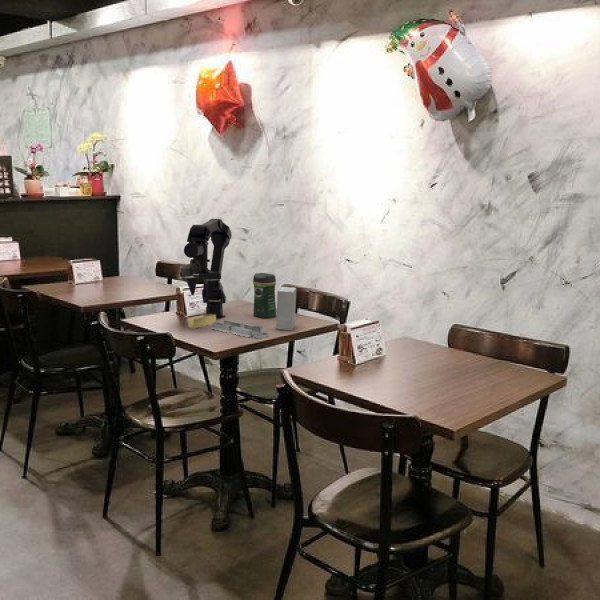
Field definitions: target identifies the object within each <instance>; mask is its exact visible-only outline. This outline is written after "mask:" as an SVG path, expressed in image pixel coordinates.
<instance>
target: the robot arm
mask: <svg viewBox="0 0 600 600" xmlns="http://www.w3.org/2000/svg"><path fill="white" fill-rule="evenodd" d="M231 239H232V230H231V229H230V226H228V225H227V224H226V223H224V222H223V219H221V218H210V219H209V220H207V221H206V222H204V223H201V224H192V225H191V227H190V228H189V232H188V235H187V238H186V242H188V243H187V244H185V246H184V248H183V254H184V255H185V256H186V257H187V258H188V259H190V260H189V262H190V263H188V264H185V265H183V266H182V267H180V268H179V269H180V271H179V277H181V279H182V280H184V281H185V282H186V284H187V287H188V289H189V292H190V295H191V296H195V292H196V288H197V283H198V277H200V278H203V280H202V281H203V288H202V289H201V296H202V301H203V302H202V303H203V304H206V307H205V310H206V311H205V315H206V314H216V319H219V318H224V317H226V315H225V314H223V304H226V301H227V296H226V294H225V292H224V287H223V285H222V284H223V283H221V280H222V271H223V264H224V263H223V261H224V257H225V256H224V255H225V250H226V248H227V247H228V246H229V245H230V242H231ZM210 240H211V243H212V245H213V249H212V255H211V256H212V257H211V259H208V257H209V256H208V253H209V251H208V250H209V249H208V246H209V241H210ZM208 263H211V265H210V269H208V266H209V265H208Z"/></svg>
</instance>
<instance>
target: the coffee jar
mask: <svg viewBox="0 0 600 600" xmlns="http://www.w3.org/2000/svg"><path fill="white" fill-rule="evenodd" d="M252 284H253V292H254V293H253V295H254V296H253V316H254V317H258V318H264V319H265V318H266V319H267V318H269V319H272V318H273V317H275V316H277V303H276V284H277V281H276V275H275V274H273V273H268V272H267V273H266V272H258V273H255V274H253V280H252Z"/></svg>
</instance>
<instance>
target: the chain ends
mask: <svg viewBox="0 0 600 600" xmlns="http://www.w3.org/2000/svg"><path fill="white" fill-rule="evenodd" d="M213 329H214V330H213ZM212 330H213V331H217V330H219V331H218V332H221V331H223V333H226V332H227V333H226V334H230V333H229V332H231V334H232V335H235V334H236V335H235V336H239V335H240V337H243V336H245V337H244V338H248V337H250V338H254V337H256V338H255V339H258V338H259V340H260V338H261V339H264V338H268V337H269V336H270V335H269V334H270V333H268V332H264V327H263V326H260V325H254V324H250V323H249V324H248V323H243V322H241V321H235V320H231V319H224V320H223V323H221V322H217V321H216V322H214V323H213V324H212Z"/></svg>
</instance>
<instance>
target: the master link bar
mask: <svg viewBox="0 0 600 600" xmlns="http://www.w3.org/2000/svg"><path fill="white" fill-rule="evenodd" d="M214 322H217V318H216V314H206V313H205V314H202V315H201V314H200V315H197V316H192V317H188V329H192V328H193V330H195V329H198V327H199V328H203V327H202V326H204V327H207V326H206V325H208V326H211V325H210V324H212V325H213V323H214ZM194 328H195V329H194Z"/></svg>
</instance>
